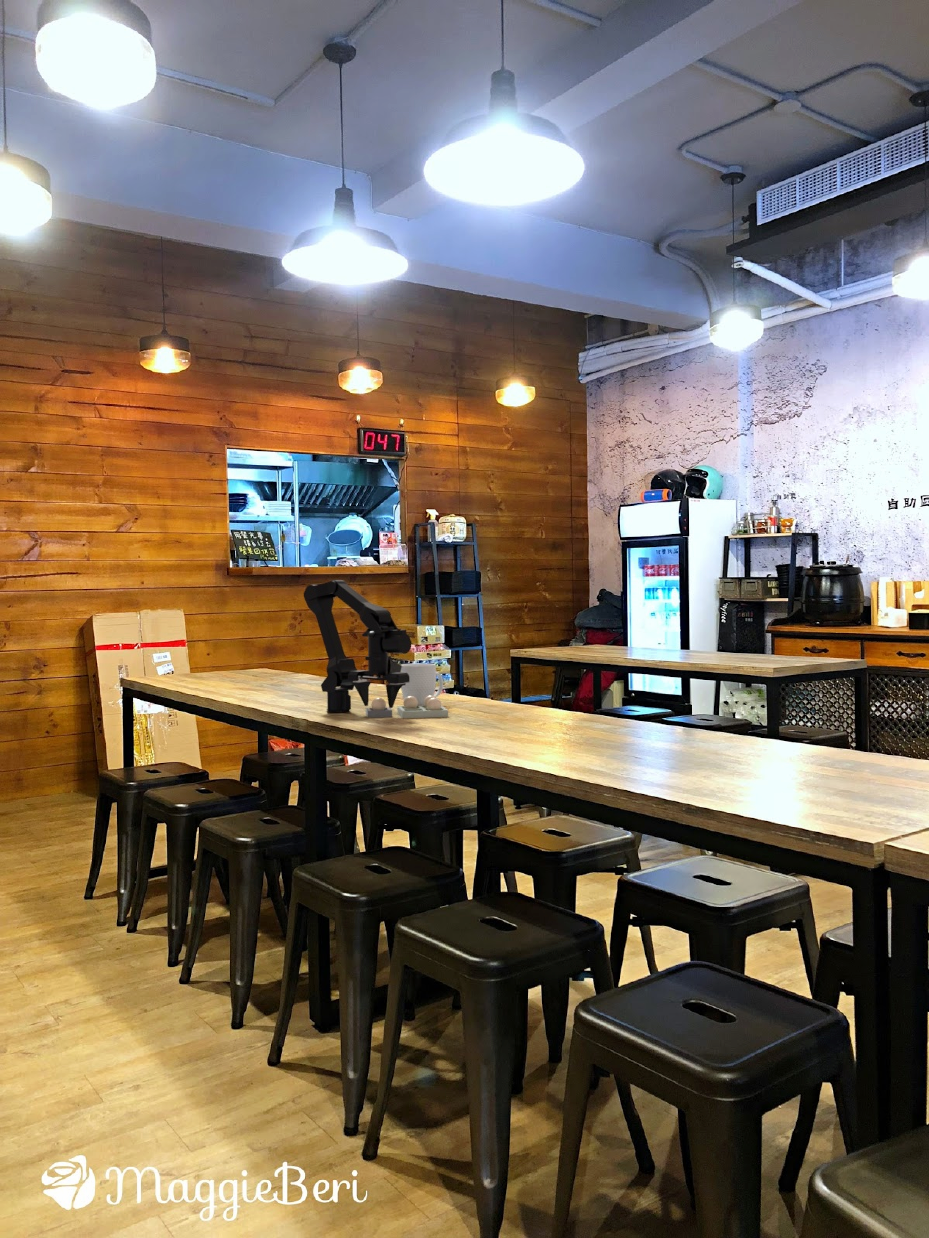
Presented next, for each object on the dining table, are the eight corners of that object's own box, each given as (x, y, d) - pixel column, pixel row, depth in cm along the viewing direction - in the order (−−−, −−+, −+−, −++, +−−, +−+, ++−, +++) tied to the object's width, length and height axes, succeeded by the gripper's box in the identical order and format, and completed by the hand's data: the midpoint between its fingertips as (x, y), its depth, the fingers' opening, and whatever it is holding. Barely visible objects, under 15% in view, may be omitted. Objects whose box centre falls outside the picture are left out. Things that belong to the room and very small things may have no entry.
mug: (431, 702, 304) (431, 661, 304) (453, 705, 296) (452, 663, 295) (393, 706, 295) (393, 664, 295) (414, 709, 286) (414, 666, 286)
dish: (367, 717, 269) (367, 710, 269) (365, 714, 276) (365, 707, 276) (392, 716, 271) (392, 710, 271) (389, 713, 278) (389, 707, 277)
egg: (372, 713, 271) (371, 698, 271) (370, 711, 275) (370, 696, 275) (386, 712, 272) (386, 698, 272) (385, 711, 276) (385, 696, 276)
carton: (402, 718, 267) (402, 699, 267) (397, 712, 280) (397, 694, 280) (448, 716, 270) (448, 698, 269) (441, 711, 282) (440, 693, 282)
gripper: (421, 652, 274) (421, 706, 275) (371, 650, 285) (371, 702, 285) (396, 654, 265) (397, 710, 266) (346, 652, 276) (347, 705, 276)
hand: (378, 706), depth 273 cm, fingers open, 9 cm apart
